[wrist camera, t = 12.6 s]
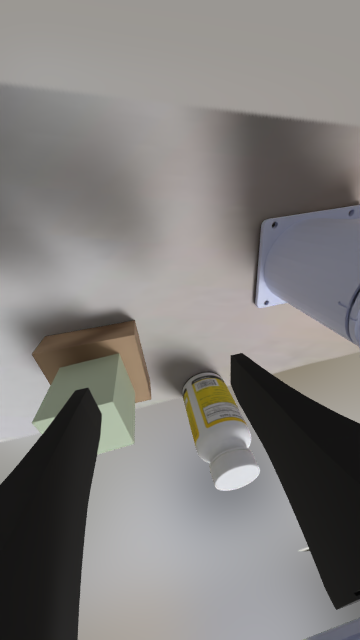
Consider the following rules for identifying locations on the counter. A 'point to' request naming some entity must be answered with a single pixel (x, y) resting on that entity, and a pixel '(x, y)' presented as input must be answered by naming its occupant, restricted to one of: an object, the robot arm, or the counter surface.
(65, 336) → the walnut block
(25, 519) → the robot arm
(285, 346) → the counter surface
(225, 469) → the supplement bottle
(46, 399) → the sage cube
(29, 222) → the counter surface
